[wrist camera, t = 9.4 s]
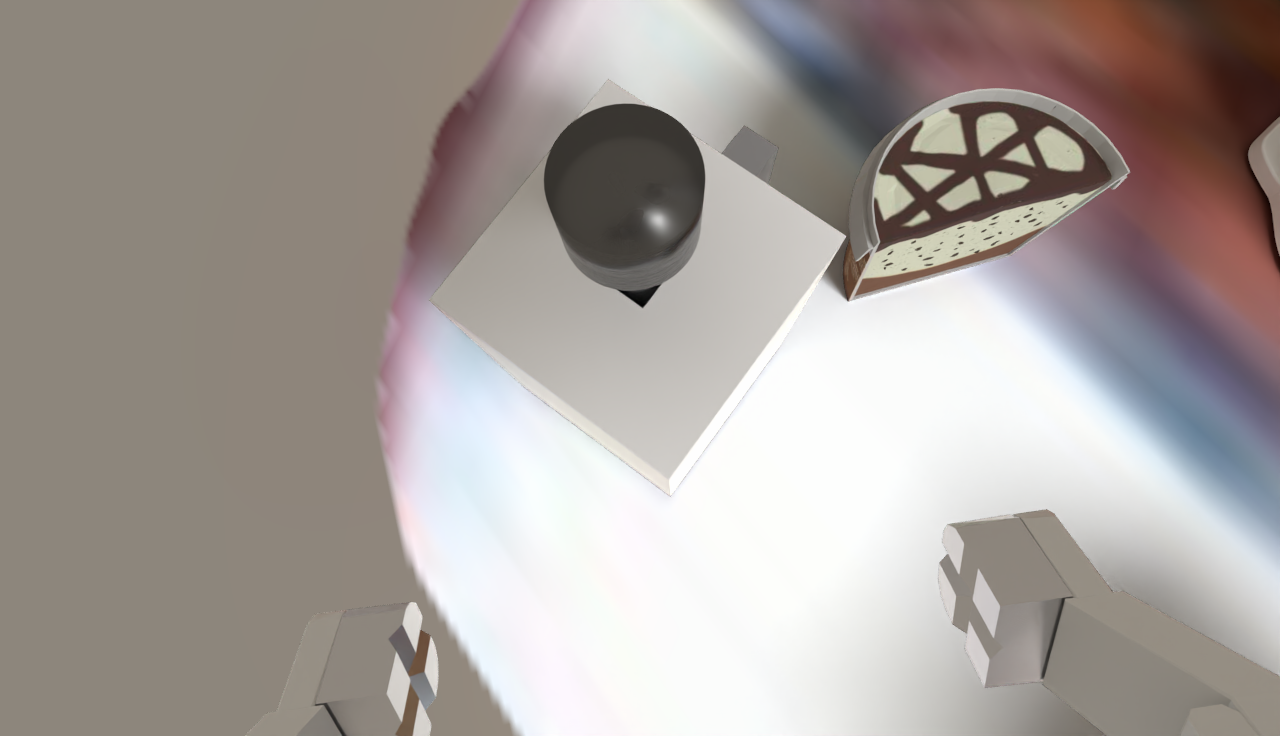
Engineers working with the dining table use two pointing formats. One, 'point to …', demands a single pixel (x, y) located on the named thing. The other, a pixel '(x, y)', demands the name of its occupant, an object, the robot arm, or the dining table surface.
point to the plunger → (627, 196)
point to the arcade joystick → (646, 310)
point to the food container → (970, 186)
